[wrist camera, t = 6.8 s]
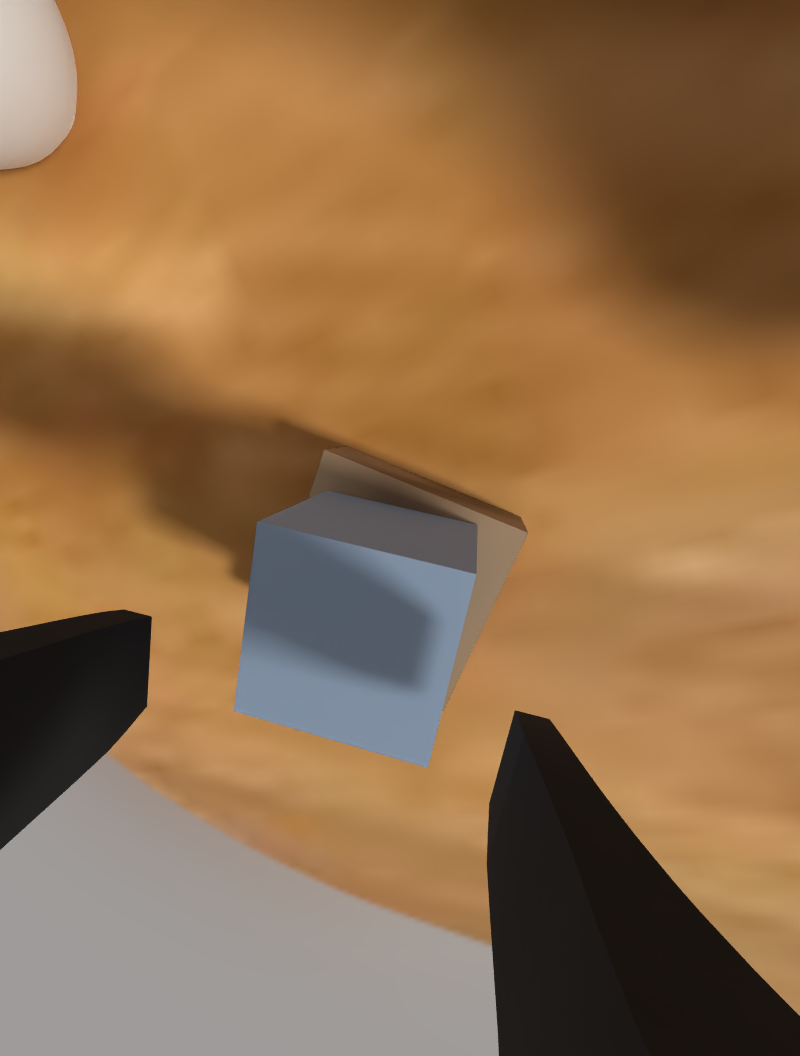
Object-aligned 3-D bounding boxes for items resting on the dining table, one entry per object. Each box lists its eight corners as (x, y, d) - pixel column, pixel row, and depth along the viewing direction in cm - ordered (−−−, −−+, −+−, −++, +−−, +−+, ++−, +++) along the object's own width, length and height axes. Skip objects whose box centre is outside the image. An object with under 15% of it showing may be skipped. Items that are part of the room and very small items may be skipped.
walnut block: (519, 514, 17) (527, 532, 15) (448, 668, 19) (443, 711, 16) (348, 445, 18) (324, 449, 15) (294, 601, 20) (263, 632, 17)
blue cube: (477, 524, 15) (476, 574, 10) (443, 663, 16) (427, 767, 11) (327, 490, 15) (257, 521, 10) (305, 627, 17) (233, 711, 12)
